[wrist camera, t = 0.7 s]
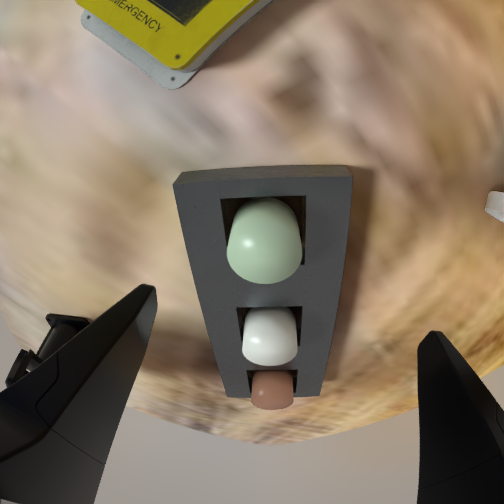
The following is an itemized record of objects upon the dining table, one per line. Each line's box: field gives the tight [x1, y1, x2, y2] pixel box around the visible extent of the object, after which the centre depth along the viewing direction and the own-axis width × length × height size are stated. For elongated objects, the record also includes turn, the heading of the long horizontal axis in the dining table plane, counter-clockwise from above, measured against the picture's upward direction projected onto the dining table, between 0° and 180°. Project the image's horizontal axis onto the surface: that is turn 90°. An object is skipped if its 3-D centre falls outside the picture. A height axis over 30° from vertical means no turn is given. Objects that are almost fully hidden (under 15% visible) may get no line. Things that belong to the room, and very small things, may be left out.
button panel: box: [173, 165, 353, 398], centre depth 23 cm, size 10×24×2 cm, turn 4°
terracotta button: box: [251, 370, 293, 410], centre depth 27 cm, size 4×4×3 cm
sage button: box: [227, 197, 302, 284], centre depth 17 cm, size 4×4×3 cm
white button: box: [242, 306, 298, 366], centre depth 22 cm, size 4×4×3 cm
